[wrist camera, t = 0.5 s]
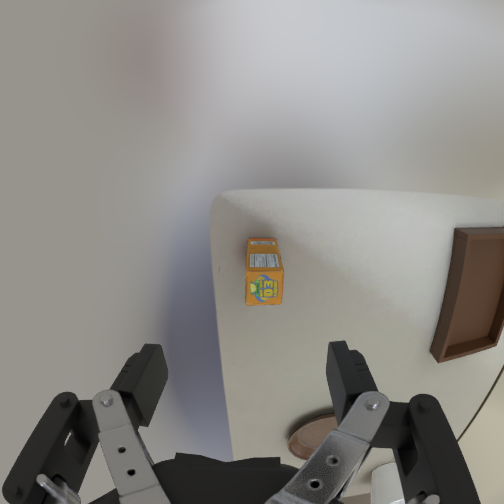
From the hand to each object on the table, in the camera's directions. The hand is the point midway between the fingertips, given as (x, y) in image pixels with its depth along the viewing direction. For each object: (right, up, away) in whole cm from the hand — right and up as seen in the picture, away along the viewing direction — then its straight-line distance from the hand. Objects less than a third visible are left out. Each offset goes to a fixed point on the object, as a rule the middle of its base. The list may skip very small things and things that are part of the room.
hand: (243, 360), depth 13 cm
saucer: (+14, -26, +30) cm, 42 cm away
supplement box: (+2, +5, +20) cm, 21 cm away
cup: (+32, -47, +36) cm, 68 cm away
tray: (+34, -1, +20) cm, 40 cm away
